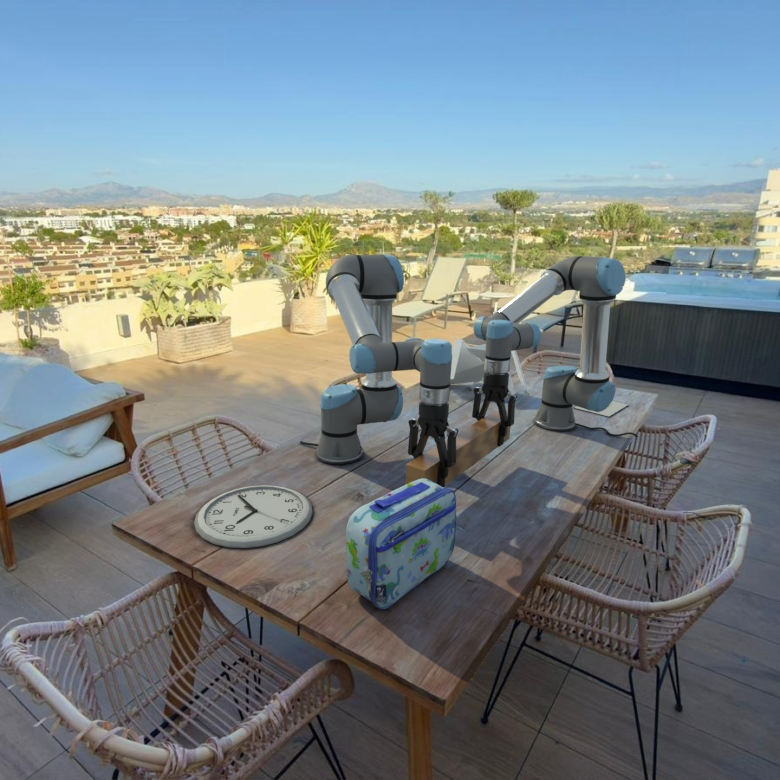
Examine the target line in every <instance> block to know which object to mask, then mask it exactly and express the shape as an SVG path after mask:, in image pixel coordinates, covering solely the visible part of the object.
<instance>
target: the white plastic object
mask: <svg viewBox="0 0 780 780" xmlns="http://www.w3.org/2000/svg"><path fill="white" fill-rule="evenodd" d="M496 312H497V311H496V310H495V311H492V315H493V314H495V313H496ZM485 353H486V343H483V344H479V345H473V346H469V345H468V343H466V342H465V340H464V339H463V338H460V339H458V338H454V340H453V344H452V364H451V378H450V385H458V384H467V383H468V384H469V383H473V384H477V383H480V382H483V378H484V372H485V370H484V366H485ZM511 360H513V363H514V366H515V369H516V372H517V376H518V380H519V382H520V385H521V389H522V391H523V393H524V395H525V396H526V397H528V396H531V395H530V390H529V388H528V387H529V386H528V384H527V381H526V378H525V375H524V371H523V369H522V368H523V367H522V366H521V362H520V359H519V355H518V352H517V350H514V351H511V358H510V361H511ZM508 374H509V382H508V390H509V392H510V393H512V394H513V395H514V394H516V395H517V392H516V391H517V390H516V388H515V385H514V381H513V378H512V375H511V371H509V372H508Z"/></svg>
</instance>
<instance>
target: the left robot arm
mask: <svg viewBox="0 0 780 780" xmlns="http://www.w3.org/2000/svg"><path fill="white" fill-rule="evenodd" d="M404 285H405V275H404V270H403V265H402V263H401V262H400V260H399V259H398V258H397V257H396V256H395V255H392V254H383V253H381V254H346V255H344V256H341V257H340V258H337V259H336V260H335V261H334V262H333V263H332V264H331V266H329V269H328V271H327V274H326V277H325V287H326V291H327V295H328V296H329V298H330V299H331V300H332V301H334V302H335V305H336V307H337V310H338V312H339V314H340V316H341V319H342V321H343V322H342V323H344V326H345V329H346V331H347V334H348V336H349V339H350V342H351V344H352V345H351V347H350V348H349V353H348V354H349V355H348V357H349V363H350V368H351V371H353V373H355V374H358V375H359V374H365V378H364V379H363V380H362V381H361V387H360V388H357V386H356V385H354V384H351V383H349V384H346V383H343V384H336V385H332V386H329V387H327V388H325V389H324V390H323V391H322V393H321V395H320V404H319V407H320V417H321V418H320V424H321V425H320V427H321V429H320V430H321V434H320V438H319V442H318V443H313V442H306V441H302V440H300V441H299V443H300V444H302V445H306V446H313V447H317V448H316V451H315V452H316V458H317V460H319V461H320V462H322V463H325V464H327V465H328V464H329V465H339V466H341V465H349V464H353V463H355V462H358V461H359V460H360V459H361V458H362V457H363V452H364V447H363V446H362V444H361V440H360V438H359V434H358V426H360V425H368V424H375V423H387V422H390V421H395V420H397V419H398V418H399V417H400V415H401V414H402V411H403V408H404V396H403V390H402V388H401V386H399V385H398V383H397V380H395V379H394V377H393V372H401V371H403V372H404V371H413V370H415V371H418V372H419V397H418V398H419V402H418V418H417V417H413V418H411V419H409V420H408V422H407V423H408V427H409V434H408V447H407V454H408V455H409V456H412V457H413V460H414V459H416V458H417V457H419V456H421V455H422V454H424V451H425V448H426V445H427V443H428V440H429V437H431V438H433V440H434V443H435V444H436V446H437V450H438V454H439V459H440V464H441V465H440V466H439V467H438V478H437V484H438V485H439V486H441V487H443V488H446V485H445V478H447V477H448V469H449V467H452V466H453V465H455V464H456V437H457V434H458V433H459V429H458V427H457V428H453V427H451V426H450V424H449V415H450V414H449V411H450V403H449V402H450V398H451V397H450V394H451V384H450V378H451V364H452V348H453V344H452V343H451V342H450V341H449V340H446V339H442V338H428V339H427V338H426V339H421V338H419V337H409V338H407V339H405V340H403V341H393V304H394V303H395V302H396V301H397V300H398V294H399V293H401V292H402V291H403V289H404ZM419 428H420V429H421V431H420V433H419ZM445 433H446V434H445ZM446 436H447V439H446ZM446 440H447V448H446V443H445V441H446Z"/></svg>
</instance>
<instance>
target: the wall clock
mask: <svg viewBox="0 0 780 780" xmlns="http://www.w3.org/2000/svg"><path fill="white" fill-rule="evenodd" d="M312 515H313V505H312V503H311V502H310V500H309V498H307V497H306V496H305V495H303V494H302V493H300V492H299V491H296V490H294V489H291V488H289V487H285V486H278V485H264V484H263V485H262V484H261V485H250V486H245V487H239V488H235V489H233V490H229V491H226V492H224V493H221V494H219V495H218V496H216V497H214V498H212V499H210V501H207V503H205V504H204V505H202V507H201V508H200V509H199V511H198V512H197V513H196V514H195V518H194V522H193V526H194V529H195V531H196V532H195V533H196V534H197V535H198V536H200V537H201V538H202V540H205V541H207V542H209V543H211V544H213V545H215V546H221V547H225V548H235V549H249V548H259V547H264V546H268V545H272V544H276V543H280V542H281V541H284V540H287V539H289V538H291V537H293V536H295V535H296V534H297V533H299V532H300V531H302V530H303V529H304V528H305V527H306V526H307V525H308V523H309V522H310V521H311V519H312Z"/></svg>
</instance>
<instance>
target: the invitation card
mask: <svg viewBox="0 0 780 780" xmlns="http://www.w3.org/2000/svg"><path fill="white" fill-rule="evenodd" d="M628 406H629V404H627V403H623V402H618V401H614V400H612V402H611V403H610V405H609V406H608V407H607V408H606V409H605V410H603V411H601V412H595V411H589V410H587V409H584V408H581V407H578V406H574V407H573V409H575V410H581V411H584V412H587V413H593V414H596V415H600V416H604V417H608V418H609V417H611V416H613V415H614V414H616V413H617V412H619V411H621V410H623V409H624V408H626V407H628Z"/></svg>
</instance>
